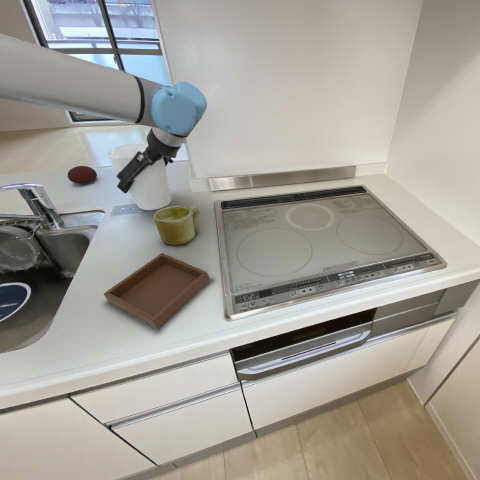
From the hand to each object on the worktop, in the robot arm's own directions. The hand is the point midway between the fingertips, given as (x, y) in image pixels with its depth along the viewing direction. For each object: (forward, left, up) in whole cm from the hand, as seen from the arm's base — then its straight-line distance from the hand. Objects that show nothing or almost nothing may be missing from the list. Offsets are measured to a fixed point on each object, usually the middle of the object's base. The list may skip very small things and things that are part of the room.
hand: (140, 179), depth 79 cm
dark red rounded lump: (-35, +1, -10) cm, 36 cm away
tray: (+32, -23, -10) cm, 41 cm away
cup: (+2, 0, -8) cm, 8 cm away
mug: (+20, -5, -10) cm, 23 cm away
